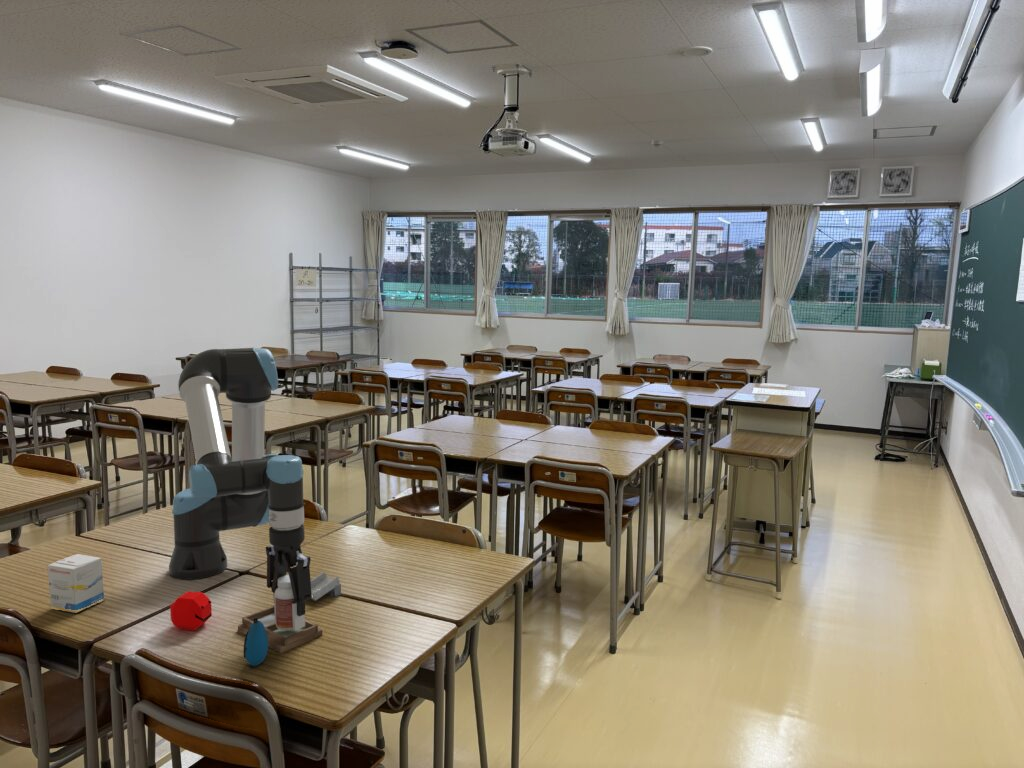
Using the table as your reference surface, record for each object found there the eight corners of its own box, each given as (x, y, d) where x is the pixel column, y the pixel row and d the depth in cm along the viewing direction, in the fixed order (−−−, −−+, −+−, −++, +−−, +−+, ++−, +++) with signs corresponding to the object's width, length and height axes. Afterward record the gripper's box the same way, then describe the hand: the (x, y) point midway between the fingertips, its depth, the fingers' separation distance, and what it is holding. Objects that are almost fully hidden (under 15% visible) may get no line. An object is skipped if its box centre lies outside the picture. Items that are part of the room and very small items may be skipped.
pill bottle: (307, 627, 162) (306, 580, 160) (280, 634, 158) (278, 586, 157) (299, 616, 167) (298, 571, 166) (272, 623, 164) (270, 576, 162)
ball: (197, 635, 164) (195, 603, 163) (165, 632, 165) (163, 601, 164) (217, 620, 172) (215, 589, 171) (186, 617, 173) (185, 587, 172)
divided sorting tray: (237, 630, 166) (237, 619, 166) (279, 614, 175) (278, 603, 175) (280, 653, 156) (280, 641, 156) (322, 634, 165) (322, 623, 164)
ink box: (105, 601, 182) (102, 556, 180) (75, 615, 174) (72, 568, 172) (80, 596, 185) (77, 552, 183) (49, 609, 177) (46, 564, 175)
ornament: (250, 653, 156) (248, 610, 154) (272, 652, 156) (270, 609, 155) (239, 673, 148) (237, 627, 146) (262, 672, 148) (261, 626, 147)
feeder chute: (299, 599, 184) (298, 580, 183) (326, 588, 190) (326, 570, 190) (313, 605, 180) (313, 586, 179) (341, 594, 187) (340, 576, 186)
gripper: (247, 520, 163) (251, 617, 166) (298, 538, 151) (301, 642, 154) (276, 513, 169) (279, 606, 171) (327, 529, 157) (329, 629, 160)
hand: (289, 623), depth 163 cm, fingers closed on pill bottle, 6 cm apart
